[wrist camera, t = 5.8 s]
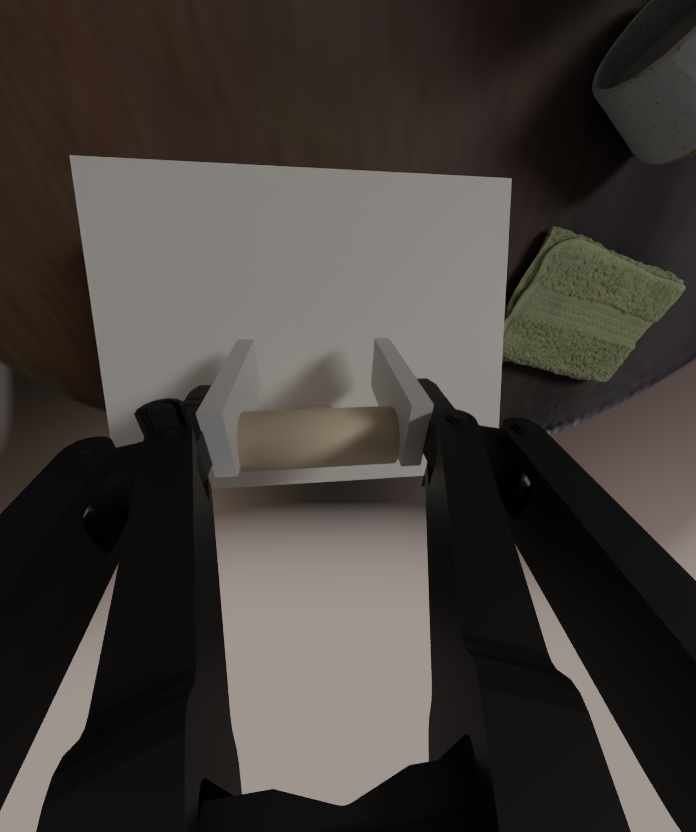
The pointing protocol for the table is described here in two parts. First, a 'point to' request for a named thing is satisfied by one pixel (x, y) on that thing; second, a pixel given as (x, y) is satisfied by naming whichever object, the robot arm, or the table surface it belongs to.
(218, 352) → the lid
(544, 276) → the washcloth
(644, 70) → the ceramic mug
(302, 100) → the table surface
